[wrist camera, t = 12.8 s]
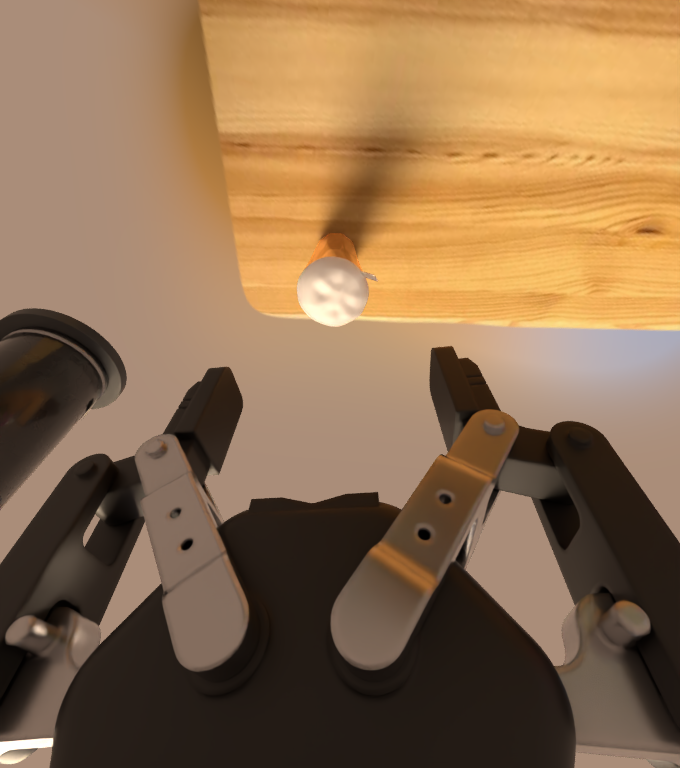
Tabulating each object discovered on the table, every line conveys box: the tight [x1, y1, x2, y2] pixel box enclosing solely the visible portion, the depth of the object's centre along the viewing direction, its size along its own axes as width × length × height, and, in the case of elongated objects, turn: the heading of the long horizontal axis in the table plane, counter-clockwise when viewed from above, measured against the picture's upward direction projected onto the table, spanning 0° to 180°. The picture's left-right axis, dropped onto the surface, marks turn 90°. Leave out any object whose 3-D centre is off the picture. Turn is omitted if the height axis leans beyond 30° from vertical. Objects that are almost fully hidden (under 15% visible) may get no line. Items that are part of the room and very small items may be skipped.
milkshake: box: [297, 233, 378, 326], centre depth 24 cm, size 4×5×10 cm
